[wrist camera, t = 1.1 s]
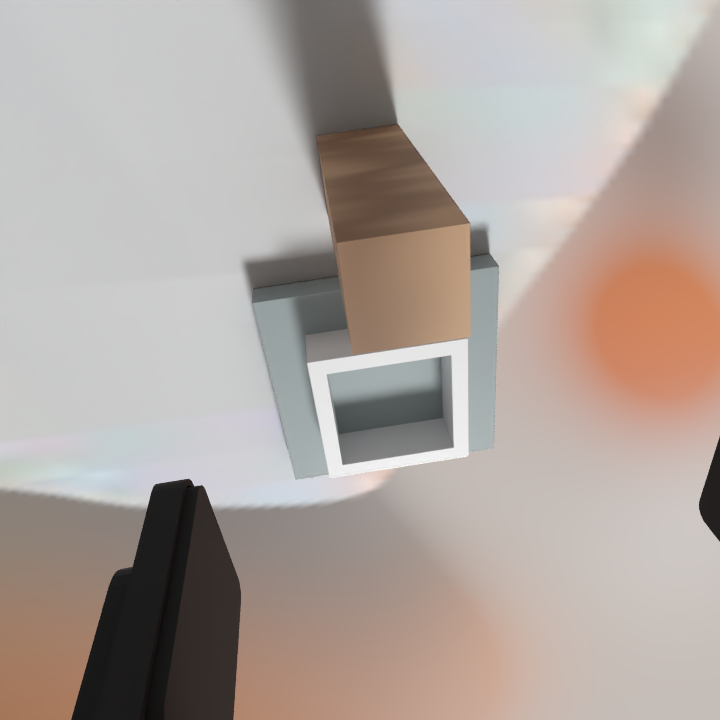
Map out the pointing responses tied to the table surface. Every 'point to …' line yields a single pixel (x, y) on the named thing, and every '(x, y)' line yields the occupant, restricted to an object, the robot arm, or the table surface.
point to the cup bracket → (377, 382)
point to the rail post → (394, 242)
